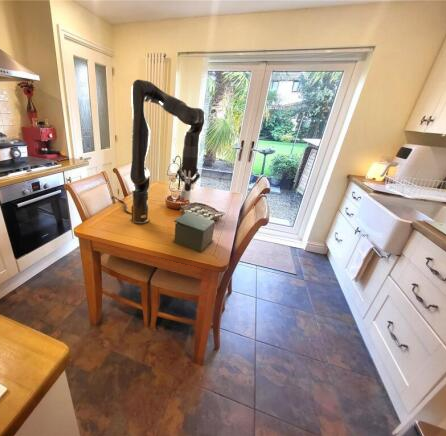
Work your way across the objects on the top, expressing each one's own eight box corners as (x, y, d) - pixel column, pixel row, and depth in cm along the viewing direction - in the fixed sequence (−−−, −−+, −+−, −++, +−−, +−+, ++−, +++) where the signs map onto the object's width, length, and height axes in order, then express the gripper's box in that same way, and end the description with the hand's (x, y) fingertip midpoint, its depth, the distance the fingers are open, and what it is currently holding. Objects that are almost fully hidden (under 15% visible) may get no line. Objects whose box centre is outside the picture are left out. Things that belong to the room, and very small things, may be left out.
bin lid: (173, 221, 119) (174, 220, 118) (186, 213, 129) (187, 211, 129) (203, 232, 111) (203, 231, 111) (214, 222, 121) (214, 221, 121)
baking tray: (172, 213, 157) (173, 205, 155) (192, 205, 172) (192, 198, 170) (210, 228, 139) (212, 220, 137) (228, 217, 154) (230, 210, 151)
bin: (174, 241, 123) (175, 223, 119) (186, 232, 134) (188, 214, 129) (200, 251, 116) (203, 232, 111) (212, 240, 126) (214, 222, 121)
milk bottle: (189, 202, 176) (191, 176, 168) (190, 206, 169) (193, 179, 161) (179, 202, 176) (181, 176, 168) (180, 206, 169) (182, 179, 161)
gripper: (207, 156, 108) (203, 191, 116) (182, 152, 115) (180, 186, 122) (199, 158, 103) (196, 195, 110) (174, 154, 109) (172, 189, 116)
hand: (187, 190), depth 116 cm, fingers closed
